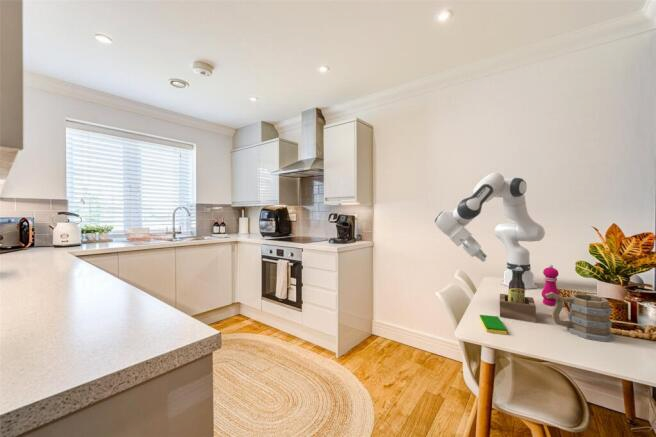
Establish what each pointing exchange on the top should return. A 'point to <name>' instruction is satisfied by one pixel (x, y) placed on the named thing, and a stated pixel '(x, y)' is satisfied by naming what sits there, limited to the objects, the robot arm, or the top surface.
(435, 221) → the robot arm
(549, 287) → the pepper mill
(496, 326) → the dish sponge
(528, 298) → the socket
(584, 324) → the tankard
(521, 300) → the sauce bottle
